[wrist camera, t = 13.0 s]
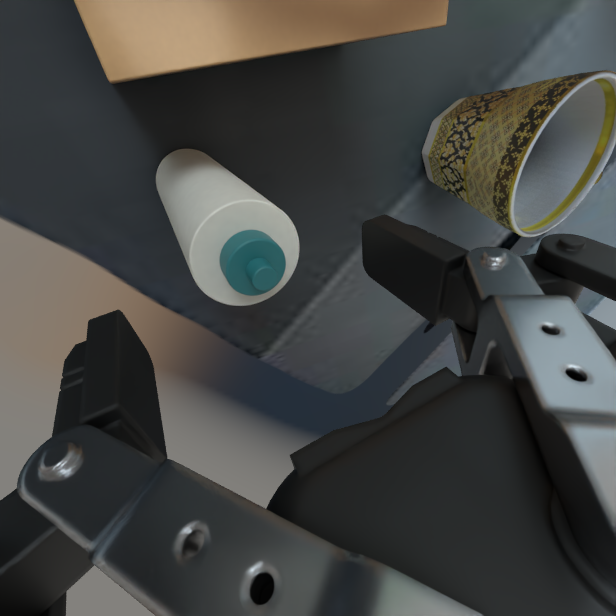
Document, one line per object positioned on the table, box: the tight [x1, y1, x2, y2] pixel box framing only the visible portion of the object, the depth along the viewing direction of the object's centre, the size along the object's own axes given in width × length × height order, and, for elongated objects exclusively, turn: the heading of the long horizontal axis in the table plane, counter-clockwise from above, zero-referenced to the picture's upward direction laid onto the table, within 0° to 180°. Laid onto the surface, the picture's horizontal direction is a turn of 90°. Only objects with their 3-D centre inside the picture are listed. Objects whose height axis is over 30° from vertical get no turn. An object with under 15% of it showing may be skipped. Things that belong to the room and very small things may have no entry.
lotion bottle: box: [156, 149, 299, 306], centre depth 15 cm, size 4×4×14 cm
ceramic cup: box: [422, 70, 616, 237], centre depth 25 cm, size 13×10×10 cm
